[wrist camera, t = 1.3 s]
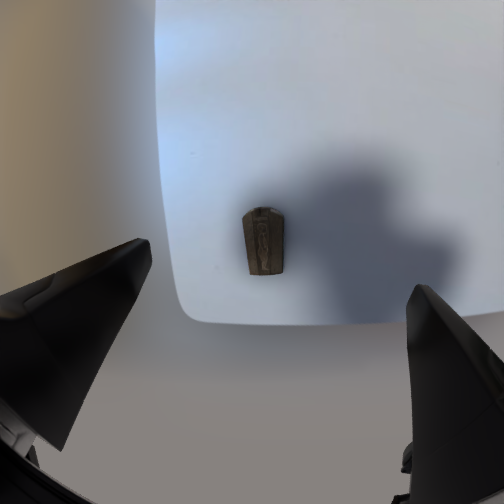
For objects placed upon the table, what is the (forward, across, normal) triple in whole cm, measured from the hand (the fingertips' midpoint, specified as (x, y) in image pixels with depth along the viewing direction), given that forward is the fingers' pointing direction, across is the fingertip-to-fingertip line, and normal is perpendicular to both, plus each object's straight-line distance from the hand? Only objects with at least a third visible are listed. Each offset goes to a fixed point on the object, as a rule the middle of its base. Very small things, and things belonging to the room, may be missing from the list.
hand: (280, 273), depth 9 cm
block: (+16, +2, +8) cm, 18 cm away
